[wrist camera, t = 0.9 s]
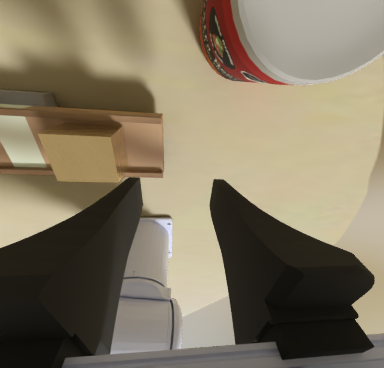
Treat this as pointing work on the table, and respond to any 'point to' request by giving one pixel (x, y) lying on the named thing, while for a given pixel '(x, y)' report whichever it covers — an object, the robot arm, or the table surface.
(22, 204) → the table surface
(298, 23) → the canned food
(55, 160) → the block
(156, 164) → the beam
